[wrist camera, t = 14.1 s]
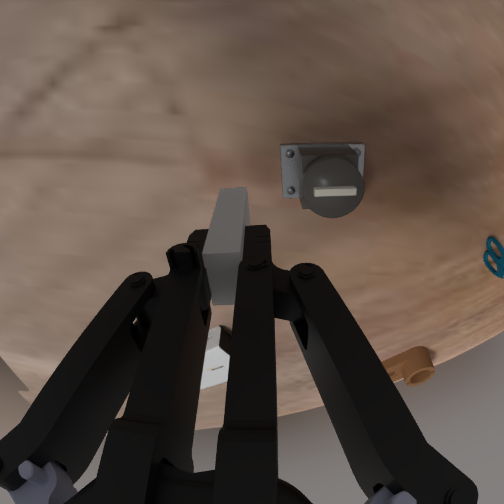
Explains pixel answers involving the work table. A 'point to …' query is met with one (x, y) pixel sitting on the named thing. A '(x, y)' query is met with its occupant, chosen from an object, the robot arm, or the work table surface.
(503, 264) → the scissors
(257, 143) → the work table surface
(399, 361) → the bracket
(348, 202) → the knob
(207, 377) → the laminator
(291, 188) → the mounting plate
